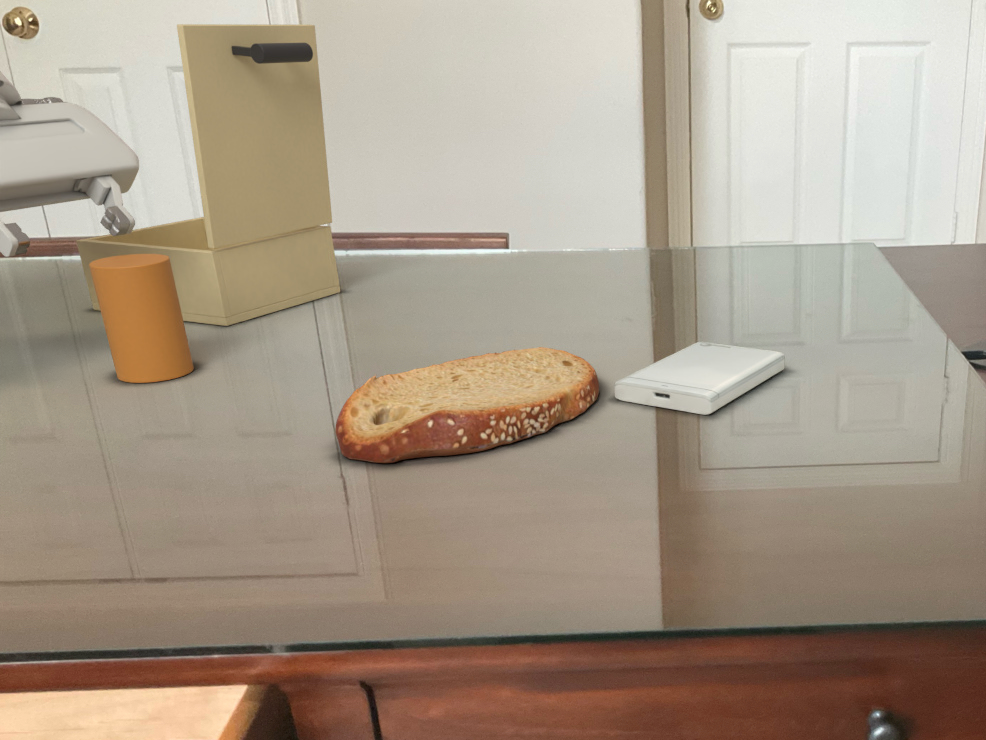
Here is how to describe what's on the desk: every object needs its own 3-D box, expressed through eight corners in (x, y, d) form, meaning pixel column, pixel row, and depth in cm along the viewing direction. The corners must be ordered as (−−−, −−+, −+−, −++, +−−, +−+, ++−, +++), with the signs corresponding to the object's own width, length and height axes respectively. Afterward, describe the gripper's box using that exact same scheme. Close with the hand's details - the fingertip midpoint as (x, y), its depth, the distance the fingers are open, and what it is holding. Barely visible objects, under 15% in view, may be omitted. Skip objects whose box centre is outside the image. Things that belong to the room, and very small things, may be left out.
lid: (176, 24, 90) (217, 29, 88) (309, 24, 103) (347, 28, 101) (207, 247, 98) (246, 255, 97) (327, 221, 111) (362, 228, 110)
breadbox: (93, 310, 107) (75, 240, 105) (215, 279, 120) (203, 216, 118) (226, 326, 101) (211, 252, 98) (340, 292, 114) (330, 226, 111)
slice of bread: (595, 372, 87) (592, 326, 85) (613, 450, 71) (610, 395, 69) (363, 386, 84) (356, 338, 82) (328, 469, 68) (318, 413, 66)
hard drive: (695, 340, 89) (613, 378, 80) (785, 352, 86) (711, 393, 76) (696, 359, 90) (614, 400, 80) (785, 372, 87) (711, 416, 77)
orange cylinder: (125, 387, 84) (95, 270, 80) (111, 371, 88) (83, 259, 84) (201, 374, 87) (176, 261, 83) (184, 359, 91) (160, 250, 87)
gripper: (61, 124, 95) (168, 244, 96) (-194, 146, 78) (-61, 292, 79) (83, 69, 92) (194, 194, 92) (-178, 80, 75) (-40, 232, 75)
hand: (75, 239), depth 85 cm, fingers open, 8 cm apart
